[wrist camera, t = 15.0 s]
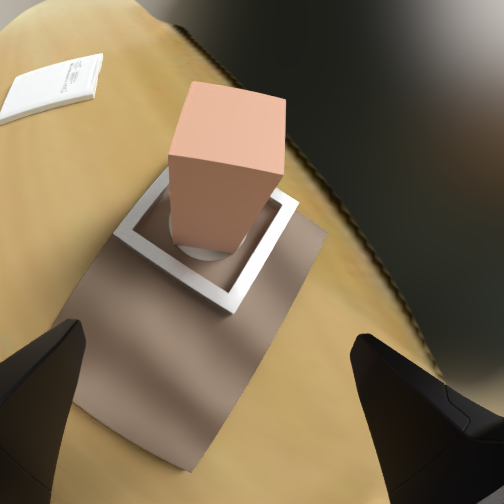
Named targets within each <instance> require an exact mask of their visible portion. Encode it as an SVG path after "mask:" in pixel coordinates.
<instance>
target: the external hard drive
mask: <svg viewBox="0 0 504 504" xmlns="http://www.w3.org/2000/svg"><path fill="white" fill-rule="evenodd" d="M102 61H103V53H101V54H96V55H91V56H86V57H81V58H77V59H73V60H69V61H64V62H61V63H57V64H53V65H50V66H47V67H43V68H40V69H37V70H34V71H31V72H28V73H25V74H22V75H19V76H17V77H16V78H15V80H14V82H13V84H12V86H11V88H10V91H9V93H8V95H7V97H6V99H5V102H4V104H3V107H2V109H1V111H0V125H3V124H6V123H9V122H12V121H15V120H17V119H20V118H23V117H26V116H30V115H33V114H36V113H39V112H43V111H47V110H50V109H54V108H58V107H62V106H66V105H70V104H74V103H78V102H83V101H88V100H93V99H94V97H95V91H96V87H97V82H98V74H99V73H100V69H101V65H102Z"/></svg>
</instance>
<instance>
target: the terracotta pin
mask: <svg viewBox="0 0 504 504" xmlns="http://www.w3.org/2000/svg"><path fill="white" fill-rule="evenodd" d="M285 115H286V100H285V99H281V98H277V97H273V96H269V95H265V94H260V93H256V92H251V91H247V90H242V89H237V88H232V87H227V86H221V85H215V84H209V83H202V82H195V81H192V84H191V87H190V89H189V92H188V95H187V98H186V101H185V103H184V106H183V109H182V112H181V115H180V118H179V121H178V124H177V128H176V131H175V134H174V137H173V140H172V144H171V147H170V150H169V154H168V161H169V189H170V208H171V223H172V237H173V244H174V245H180V246H187V247H193V248H200V249H206V250H213V251H219V252H226V253H233V254H234V253H235V252H236V250H237V249H238V247H239V245H240V244H241V242H242V241H243V239H244V237H245V236H246V234H247V233H248V231H249V229H250V228H251V226H252V225H253V223H254V221H255V220H256V218H257V217H258V215H259V213H260V212H261V210H262V209H263V207H264V205H265V204H266V202H267V201H268V199H269V198H270V196H271V194H272V193H273V191H274V190H275V188H276V186H277V185H278V183H279V182H280V180H281V179H282V177H283V175H284V152H285Z"/></svg>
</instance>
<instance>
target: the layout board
mask: <svg viewBox="0 0 504 504" xmlns="http://www.w3.org/2000/svg"><path fill="white" fill-rule="evenodd" d="M298 204H299V202H297V201H296V200H294V199H293V198H291V197H290V196H288V195H287V194H285V193H283V192H282V191H280V190H279V189H277V188H275V190H274V191H273V193H272V194H271V196H270V198H269V199H268V201H267V202H266V204H265V205H264V207H263V209H262V210H261V212H260V213H259V215H258V217H257V218H256V220H255V221H254V223H253V225H252V226H251V228H250V229H249V231H248V233H247V234H246V236H245V237H244V239H243V241H242V242H241V244H240V245H239V247H238V249H237V250H236V252H235V253H234V254H233V253H226V252H219V251H213V250H206V249H200V248H193V247H187V246H180V245H174V244H173V237H172V223H171V208H170V189H169V166H168V167H167V168H166V169H165V170H164V171H163V172H162V173H161V175H160V176H159V177H158V178H157V179H156V180H155V182H154V183H153V184H152V185H151V186H150V187H149V189H148V190H147V191H146V192H145V193H144V195H143V196H142V197H141V198H140V199H139V201H138V202H137V203H136V204H135V206H134V207H133V208H132V209H131V211H130V212H129V213H128V214H127V216H126V217H125V218H124V220H123V221H122V222H121V224H120V225H119V226H118V227H117V229H116V230H115V231H114V233H113V234H112V236H111V237H110V238H109V240H108V241H107V242H106V244H105V245H104V246H103V248H102V249H101V251H100V252H99V254H98V255H97V256H96V258H95V259H94V261H93V262H92V264H91V265H90V267H89V268H88V270H87V271H86V272H85V274H84V276H83V277H82V279H81V280H80V282H79V283H78V285H77V286H76V288H75V289H74V291H73V293H72V294H71V296H70V297H69V299H68V301H67V302H66V304H65V306H64V307H63V309H62V311H61V312H60V314H59V316H58V317H57V319H56V321H55V323H54V324H53V326H52V328H54V327H55V326H57V325H58V324H60V323H61V322H63V321H64V320H66V319H68V318H74V319H79V320H80V321H81V323H82V327H83V330H84V334H85V338H86V348H85V352H84V356H83V360H82V365H81V370H80V374H79V379H78V384H77V387H76V391H75V394H74V397H73V402H74V403H76V404H77V405H78V406H79V407H81V408H82V409H83V410H85V411H86V412H87V413H89V414H90V415H92V416H93V417H94V418H96V419H97V420H99V421H100V422H102V423H103V424H104V425H106V426H107V427H109V428H110V429H112V430H113V431H115V432H117V433H118V434H120V435H121V436H123V437H125V438H126V439H128V440H129V441H131V442H133V443H134V444H136V445H138V446H140V447H141V448H143V449H145V450H147V451H148V452H150V453H152V454H154V455H156V456H158V457H160V458H161V459H163V460H165V461H167V462H169V463H171V464H173V465H175V466H178V467H180V468H182V469H184V470H186V471H188V472H190V473H192V471H193V470H194V468H195V467H196V465H197V464H198V462H199V461H200V459H201V458H202V456H203V455H204V453H205V452H206V450H207V449H208V447H209V446H210V444H211V443H212V441H213V440H214V438H215V437H216V435H217V433H218V432H219V430H220V429H221V427H222V426H223V424H224V422H225V421H226V419H227V418H228V416H229V414H230V413H231V411H232V409H233V408H234V406H235V405H236V403H237V401H238V400H239V398H240V396H241V395H242V393H243V391H244V390H245V388H246V386H247V385H248V383H249V381H250V379H251V378H252V376H253V374H254V373H255V371H256V369H257V367H258V366H259V364H260V362H261V360H262V359H263V357H264V355H265V353H266V352H267V350H268V348H269V346H270V344H271V343H272V341H273V339H274V337H275V335H276V334H277V332H278V330H279V328H280V326H281V324H282V323H283V321H284V319H285V317H286V315H287V313H288V311H289V309H290V308H291V306H292V304H293V302H294V300H295V298H296V296H297V294H298V292H299V290H300V288H301V286H302V284H303V283H304V281H305V279H306V277H307V275H308V273H309V271H310V269H311V267H312V265H313V263H314V261H315V259H316V257H317V254H318V252H319V250H320V248H321V246H322V244H323V242H324V240H325V238H326V236H327V234H328V232H327V231H326V230H324V229H323V228H321V227H320V226H318V225H317V224H316V223H314V222H313V221H311V220H310V219H308V218H307V217H305V216H304V215H302V214H301V213H299V212H298V211H296V210H295V209H296V207H297V205H298ZM52 328H51V329H52Z"/></svg>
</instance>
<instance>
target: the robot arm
mask: <svg viewBox="0 0 504 504" xmlns="http://www.w3.org/2000/svg"><path fill="white" fill-rule="evenodd" d="M85 348H86V338H85V334H84V330H83V327H82V323H81V321H80V320H79V319H74V318H68V319H66V320H64V321H63V322H61V323H60V324H58V325H57V326H55V327H54V328H52V329H50V330H49V331H47V332H46V333H44V334H43V335H41V336H40V337H38V338H37V339H35V340H34V341H32V342H31V343H29V344H28V345H26V346H25V347H23V348H22V349H20V350H19V351H17V352H16V353H14V354H13V355H11V356H10V357H8V358H7V359H5V360H4V361H2V362H1V363H0V504H50V499H51V491H52V485H53V480H54V474H55V469H56V464H57V459H58V454H59V450H60V446H61V441H62V437H63V433H64V429H65V426H66V422H67V418H68V414H69V411H70V407H71V404H72V401H73V397H74V394H75V391H76V387H77V384H78V379H79V374H80V370H81V365H82V360H83V356H84V352H85ZM350 360H351V364H352V369H353V373H354V378H355V382H356V387H357V391H358V395H359V399H360V402H361V405H362V408H363V411H364V414H365V417H366V420H367V423H368V426H369V430H370V433H371V436H372V439H373V443H374V446H375V449H376V453H377V456H378V459H379V463H380V466H381V470H382V473H383V477H384V480H385V484H386V488H387V491H388V496H389V500H390V503H391V504H504V417H501V416H498V415H496V414H494V413H493V412H491V411H489V410H487V409H485V408H484V407H482V406H480V405H478V404H476V403H474V402H473V401H471V400H469V399H468V398H466V397H464V396H462V395H461V394H459V393H458V392H456V391H455V390H453V389H452V388H450V387H449V386H447V385H444V383H443V382H441V381H440V380H438V379H437V378H435V377H434V376H432V375H431V374H429V373H428V372H426V371H425V370H423V369H422V368H420V367H419V366H417V365H416V364H414V363H413V362H411V361H410V360H408V359H407V358H405V357H404V356H402V355H401V354H400V353H398V352H397V351H395V350H394V349H392V348H391V347H389V346H388V345H386V344H385V343H383V342H382V341H380V340H379V339H377V338H376V337H374V336H373V335H371V334H368V333H367V334H359V335H358V336H357V338H356V340H355V342H354V345H353V347H352V349H351V352H350Z"/></svg>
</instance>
